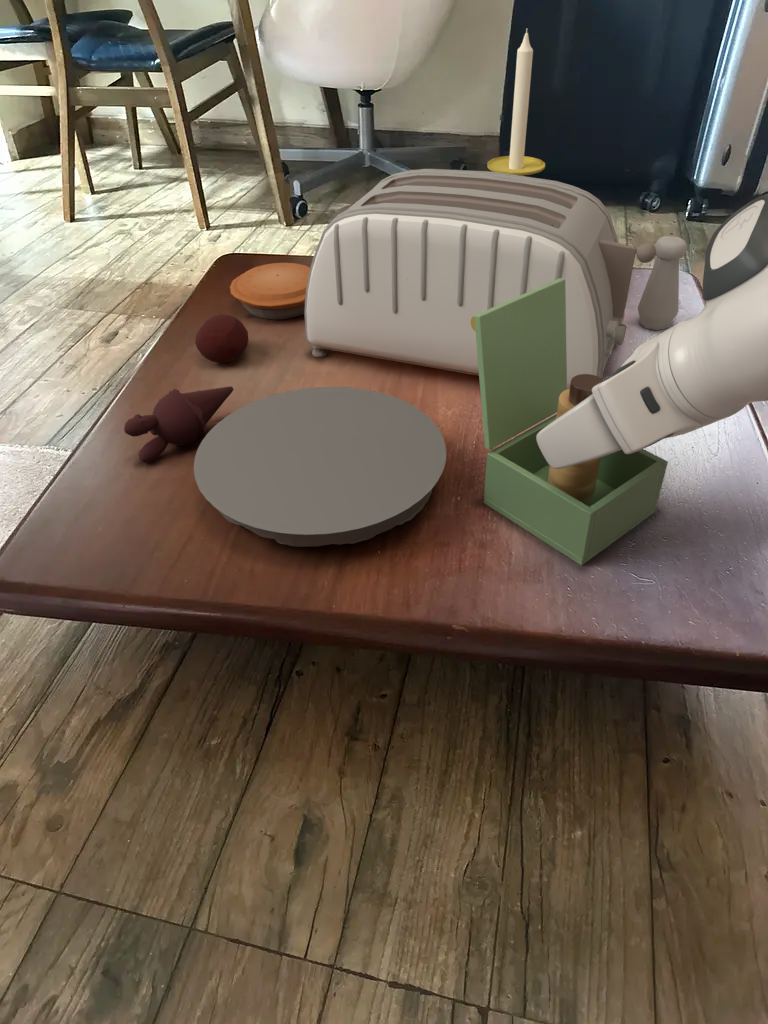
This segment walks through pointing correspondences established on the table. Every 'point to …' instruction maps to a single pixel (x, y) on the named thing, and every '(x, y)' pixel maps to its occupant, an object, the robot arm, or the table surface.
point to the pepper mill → (583, 475)
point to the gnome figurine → (176, 419)
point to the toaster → (465, 267)
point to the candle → (519, 121)
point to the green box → (558, 516)
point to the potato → (222, 338)
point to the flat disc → (321, 465)
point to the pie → (273, 290)
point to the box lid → (521, 361)
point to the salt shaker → (662, 285)
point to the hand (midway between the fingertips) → (574, 430)
